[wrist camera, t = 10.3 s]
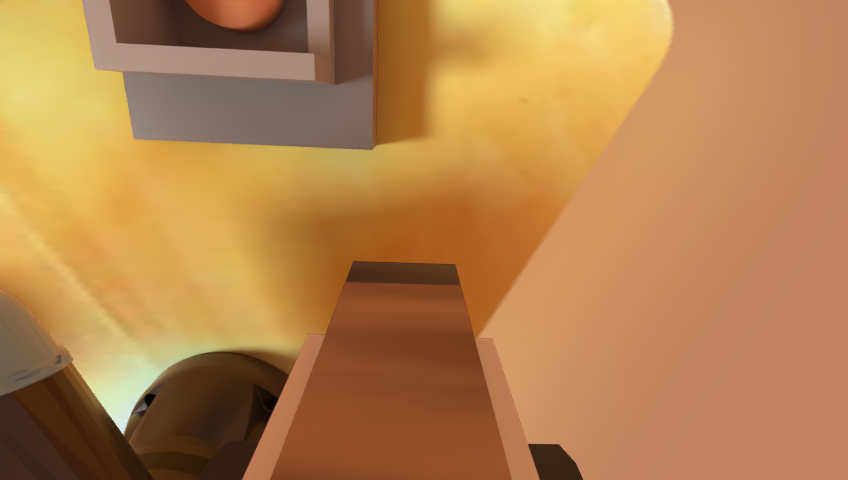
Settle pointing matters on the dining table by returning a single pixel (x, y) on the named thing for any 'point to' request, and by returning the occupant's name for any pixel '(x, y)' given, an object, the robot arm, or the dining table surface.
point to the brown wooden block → (396, 386)
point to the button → (239, 13)
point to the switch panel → (244, 72)
